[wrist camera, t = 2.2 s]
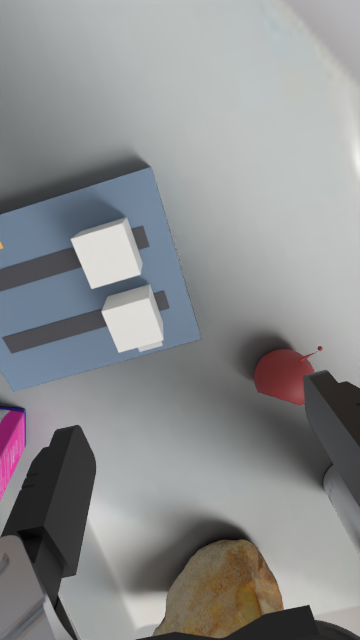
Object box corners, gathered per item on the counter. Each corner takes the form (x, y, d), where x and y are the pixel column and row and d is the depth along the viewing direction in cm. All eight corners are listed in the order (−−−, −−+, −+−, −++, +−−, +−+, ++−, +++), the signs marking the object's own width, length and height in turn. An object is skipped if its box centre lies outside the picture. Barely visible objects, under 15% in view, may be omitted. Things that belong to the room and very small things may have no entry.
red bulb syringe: (300, 353, 38) (350, 356, 31) (287, 401, 38) (336, 416, 30) (254, 337, 37) (294, 336, 29) (240, 386, 36) (278, 398, 29)
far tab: (149, 284, 29) (148, 297, 26) (163, 322, 31) (163, 340, 28) (107, 296, 29) (101, 311, 26) (122, 334, 31) (118, 352, 28)
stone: (211, 616, 59) (236, 748, 46) (134, 601, 53) (136, 748, 40) (299, 543, 53) (356, 671, 40) (222, 516, 47) (260, 657, 34)
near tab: (127, 216, 27) (122, 223, 23) (142, 262, 28) (140, 274, 25) (80, 231, 27) (70, 239, 24) (99, 275, 29) (91, 289, 25)
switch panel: (151, 167, 27) (150, 166, 26) (198, 330, 34) (201, 339, 32) (-66, 236, 29) (-82, 240, 27) (20, 380, 35) (12, 391, 33)
